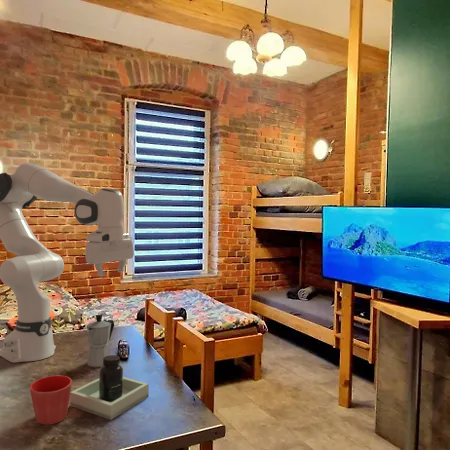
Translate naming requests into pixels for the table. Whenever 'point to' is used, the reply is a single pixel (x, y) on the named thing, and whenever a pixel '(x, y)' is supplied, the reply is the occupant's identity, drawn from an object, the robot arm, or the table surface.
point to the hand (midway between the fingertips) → (111, 274)
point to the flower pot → (51, 398)
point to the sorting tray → (91, 402)
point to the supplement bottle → (111, 379)
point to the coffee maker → (99, 340)
